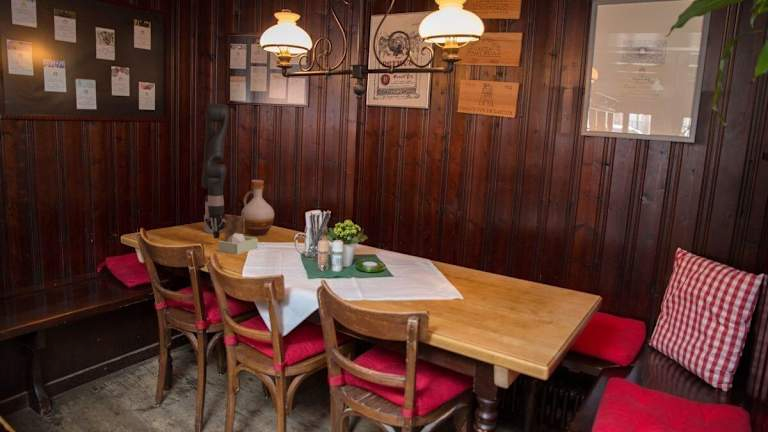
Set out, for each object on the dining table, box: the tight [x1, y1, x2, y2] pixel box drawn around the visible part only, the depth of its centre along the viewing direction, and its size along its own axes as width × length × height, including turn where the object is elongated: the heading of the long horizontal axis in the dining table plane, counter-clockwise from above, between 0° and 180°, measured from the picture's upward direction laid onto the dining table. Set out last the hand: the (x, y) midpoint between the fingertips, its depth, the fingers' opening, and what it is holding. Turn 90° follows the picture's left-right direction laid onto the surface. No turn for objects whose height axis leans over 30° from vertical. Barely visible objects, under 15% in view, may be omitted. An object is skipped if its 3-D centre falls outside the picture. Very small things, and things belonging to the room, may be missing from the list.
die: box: [227, 233, 246, 243], centre depth 282 cm, size 8×9×10 cm
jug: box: [240, 179, 275, 237], centre depth 315 cm, size 20×18×30 cm
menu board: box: [222, 213, 246, 242], centre depth 295 cm, size 12×5×14 cm, turn 65°
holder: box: [217, 235, 259, 255], centre depth 281 cm, size 12×15×5 cm
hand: (216, 238), depth 287 cm, fingers closed
